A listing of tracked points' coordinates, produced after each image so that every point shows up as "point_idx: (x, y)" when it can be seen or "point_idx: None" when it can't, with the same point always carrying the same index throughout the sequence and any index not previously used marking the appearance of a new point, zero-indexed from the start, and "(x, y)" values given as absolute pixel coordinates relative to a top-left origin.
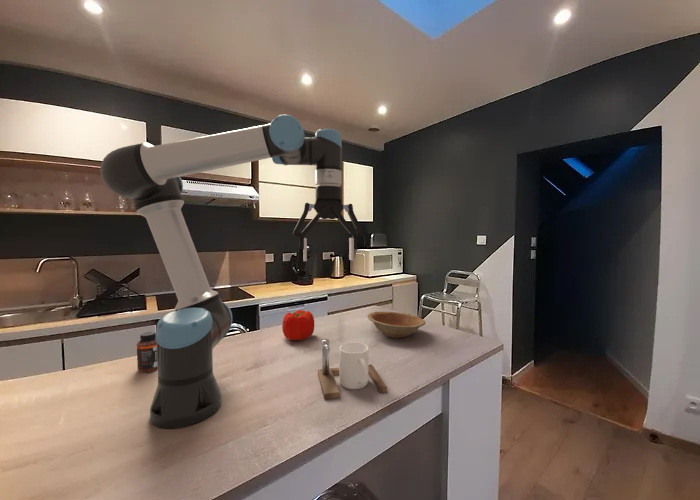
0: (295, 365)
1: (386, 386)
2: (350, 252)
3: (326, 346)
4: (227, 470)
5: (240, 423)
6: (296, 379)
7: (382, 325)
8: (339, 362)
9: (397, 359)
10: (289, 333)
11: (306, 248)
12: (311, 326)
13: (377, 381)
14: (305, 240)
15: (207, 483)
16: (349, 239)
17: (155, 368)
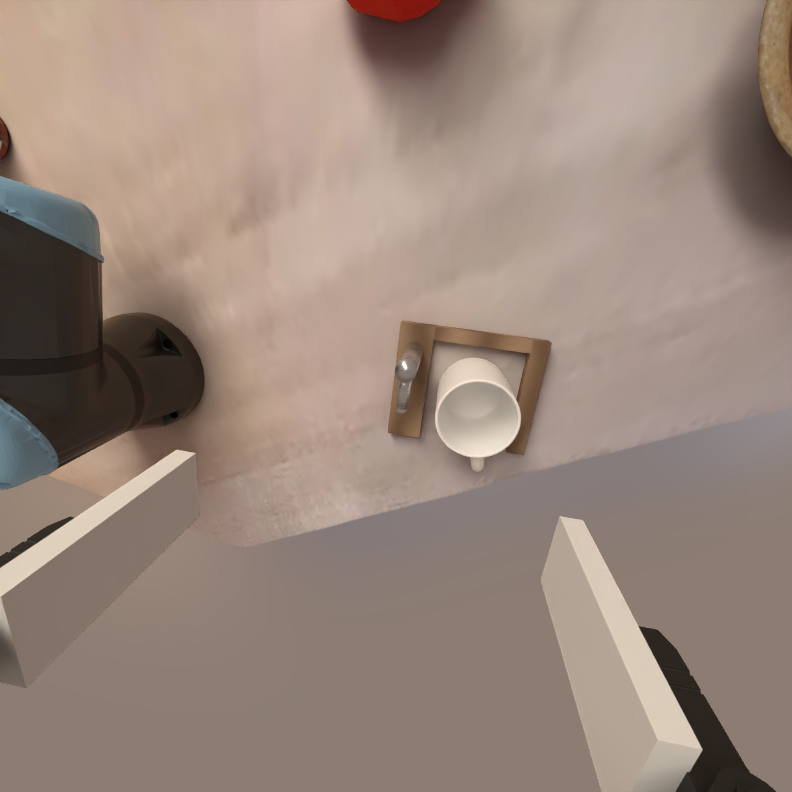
0: (356, 244)
1: (523, 453)
2: (565, 612)
3: (399, 401)
4: (243, 522)
5: (245, 441)
6: (348, 327)
7: (769, 117)
8: (437, 396)
9: (659, 307)
10: (349, 2)
11: (124, 588)
12: None
13: None
14: (41, 658)
15: (225, 531)
16: (639, 723)
17: (4, 151)
